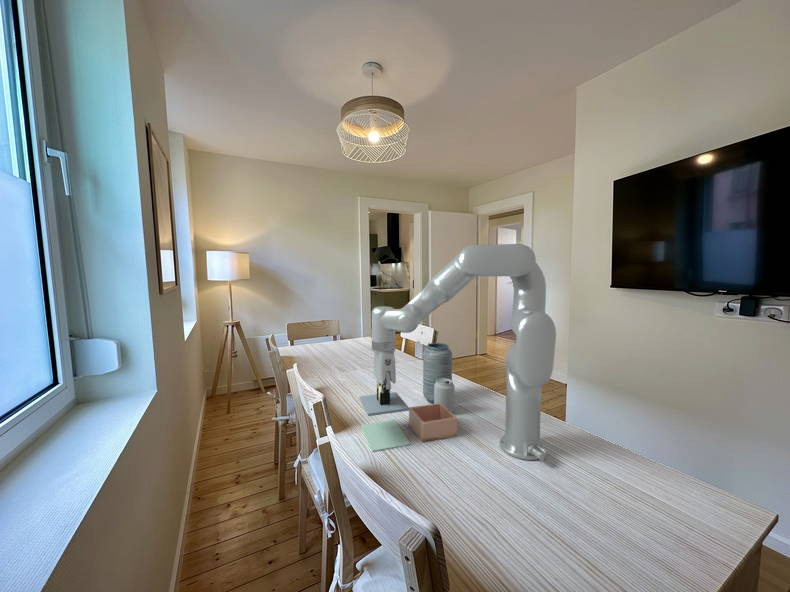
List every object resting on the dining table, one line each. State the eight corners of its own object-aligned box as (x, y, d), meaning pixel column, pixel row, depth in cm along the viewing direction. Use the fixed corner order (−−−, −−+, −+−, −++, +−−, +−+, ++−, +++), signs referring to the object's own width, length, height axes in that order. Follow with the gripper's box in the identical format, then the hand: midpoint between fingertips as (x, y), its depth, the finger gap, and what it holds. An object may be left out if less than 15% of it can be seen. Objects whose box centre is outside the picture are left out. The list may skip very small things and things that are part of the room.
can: (454, 417, 111) (454, 384, 111) (433, 415, 113) (433, 383, 112) (454, 408, 119) (454, 377, 118) (434, 406, 120) (435, 376, 119)
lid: (409, 410, 94) (409, 392, 94) (368, 416, 90) (368, 397, 90) (396, 394, 107) (396, 378, 106) (359, 398, 103) (359, 382, 102)
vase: (450, 395, 131) (451, 342, 129) (452, 407, 120) (453, 349, 118) (423, 394, 132) (423, 341, 131) (423, 405, 121) (423, 348, 119)
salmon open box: (457, 436, 99) (457, 418, 98) (422, 442, 95) (422, 423, 94) (440, 419, 110) (440, 402, 109) (409, 424, 106) (409, 407, 106)
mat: (410, 444, 94) (410, 443, 94) (372, 452, 90) (372, 450, 90) (394, 420, 109) (394, 419, 109) (361, 426, 105) (361, 424, 105)
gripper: (403, 351, 90) (402, 411, 92) (387, 339, 106) (387, 391, 107) (378, 353, 88) (378, 415, 90) (366, 340, 104) (366, 393, 105)
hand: (383, 401), depth 99 cm, fingers closed on lid, 3 cm apart
